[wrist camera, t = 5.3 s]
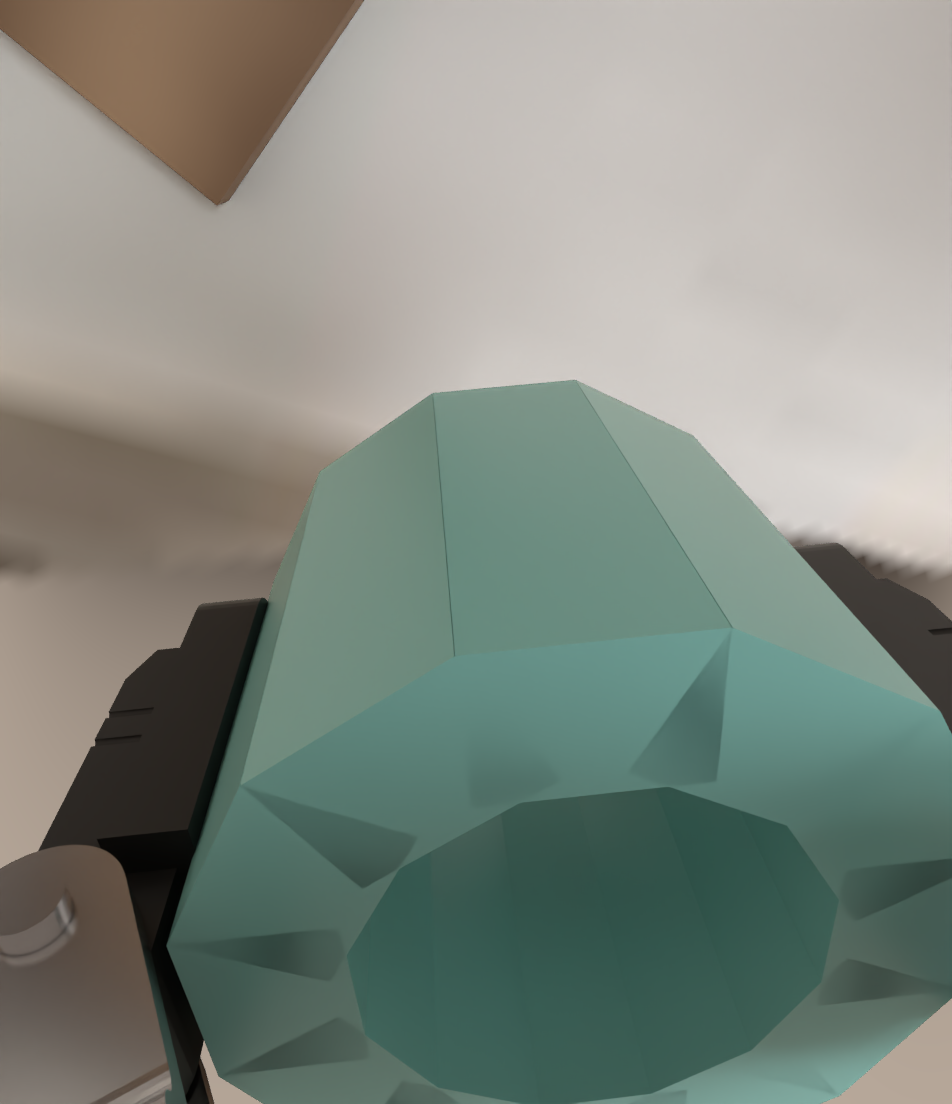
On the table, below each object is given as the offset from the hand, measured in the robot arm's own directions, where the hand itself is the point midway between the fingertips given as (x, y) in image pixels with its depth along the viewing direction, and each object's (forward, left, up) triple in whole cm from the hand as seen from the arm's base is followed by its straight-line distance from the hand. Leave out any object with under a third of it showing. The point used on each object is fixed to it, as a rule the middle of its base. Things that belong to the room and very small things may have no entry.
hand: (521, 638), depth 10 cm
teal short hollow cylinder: (0, 0, -1) cm, 1 cm away
